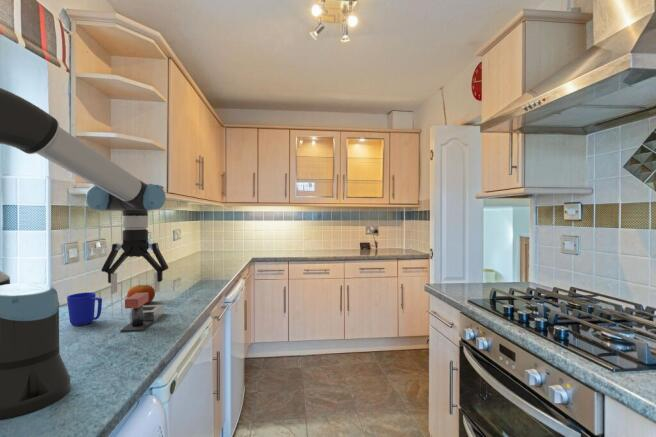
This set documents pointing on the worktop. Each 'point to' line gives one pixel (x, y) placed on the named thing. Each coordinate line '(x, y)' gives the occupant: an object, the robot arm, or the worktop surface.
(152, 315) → the block
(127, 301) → the key
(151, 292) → the fruit
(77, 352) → the worktop surface
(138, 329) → the mat
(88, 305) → the mug
